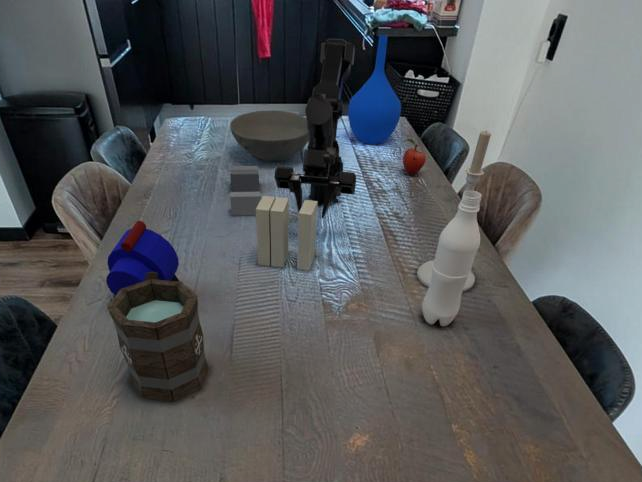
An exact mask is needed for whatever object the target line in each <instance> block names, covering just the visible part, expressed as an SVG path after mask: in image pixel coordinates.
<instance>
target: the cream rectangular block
mask: <svg viewBox="0 0 642 482" xmlns="http://www.w3.org/2000/svg"><path fill="white" fill-rule="evenodd" d="M318 206H319V205H318V201H313V200H312V199H304V202H302V207H301V209H300V211H299V213H298V214H297V216H298V217H297V253H296V257H297V259H296V261H297V262H296V269H297V270H300V271H307V272H309V271H310V269H311V267H312V265H313V261H314V259H315V256H316V243H317V242H316V241H317V223H318Z"/></svg>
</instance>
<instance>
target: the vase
mask: <svg viewBox="0 0 642 482" xmlns="http://www.w3.org/2000/svg"><path fill="white" fill-rule="evenodd" d="M388 37H389V36H388V35H386V34H380V35H379V36H378V42H377V50H376V57H375V66H374V70H373V72H372V74H371V76H370V77H369V78H368V80H366V82H365V83H364V84H363V85H362V87H361V88H359V90H358V91H357V92H355V94H354V95H353V96H352V97H351V98H350V101H349V103H348V107H347V108H348V109H347V118H348V122H349V128H350V130H351V132H352V134H353V136H354V137H355V139H356V140H357V141H358V142H360V143H362V144H367V145H379V144H383V143H384V142H386V141H387V140H388V139H389V138H391V136H392V134H393V133H394V132H395V130H396V128H397V126H398V124H399V121H400V119H401V113H402V102H401V100H400V99H399V97H398V96H397V94H396V93H395V91H394V89H393V88H392V86H391V84H390V82H389V80H388V78H387V76H386V73H385V63H386V55H387V45H388Z"/></svg>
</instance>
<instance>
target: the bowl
mask: <svg viewBox="0 0 642 482" xmlns="http://www.w3.org/2000/svg"><path fill="white" fill-rule="evenodd" d="M229 129H230V132H231V134H232V136H233V138H234V140H235V141H236V143H237V144H238V145H239V146H240V147H241V148H242V149H243V150H244V151H246V152H247V153H248V154H250V155H251V156H253V157H255V158H258V159H260V160H264V161H268V162H281V161H284V160H288V159H290V158H292V157H295V156H296V155H297V154H299V153H300V152H302V150H303V149H304V148H305V147H306V145H308V141H309V132H308V127H307V120H306V116H303V115H301V114H298V113H295V112H290V111H284V110H256V111H251V112H246V113H243V114H240V115H237V116H236V117H234V118H233V119H232V120H231V121H230V124H229Z"/></svg>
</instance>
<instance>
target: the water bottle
mask: <svg viewBox="0 0 642 482" xmlns="http://www.w3.org/2000/svg"><path fill="white" fill-rule="evenodd" d="M463 193H464V194H463ZM463 193H462V197H461V200H462V201H461V200H460V202H459V204H458V206H457V212H456V214H455V215H454V216H453V218H452V219H451V220H450V221H449V222H448V224H447V225H445V227H444V228H443V229H442V231H441V232H440V235H439V237H438V241H437V242H438V243H437V247H436V251H435V255H434V259H433V260H434V263H433V265H432V276H431V281H430V285H429V287H427V291H426V293H425V296H424V298H423V299H422V304H421V313H422V316H423V318H424V320H425V322H426V323H428V324H429V325H434V324H435V323H436V322H437V321H439V326H441V327H446V326H449V325H450V324H451V323H452V322H453V320H454V319H455V318H456V316H457V315H458V313H459V311H460V307H461V299H462V294H463V292H464V291H463V288H464V285H465V282H466V280H467V278H468V276H469V274H470V273H471V271H472V269H473V265H474V262H475V259H476V256H477V253H478V250H479V248H480V244H481V233H480V228H479V223H478V212H480V209H481V208H480V206H481V201H482V197H483V196H482V195H483V194H482V193H480V192H479V191H475V190H474V191H465V192H464V191H463ZM458 209H459V210H458ZM462 291H463V292H462Z"/></svg>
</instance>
